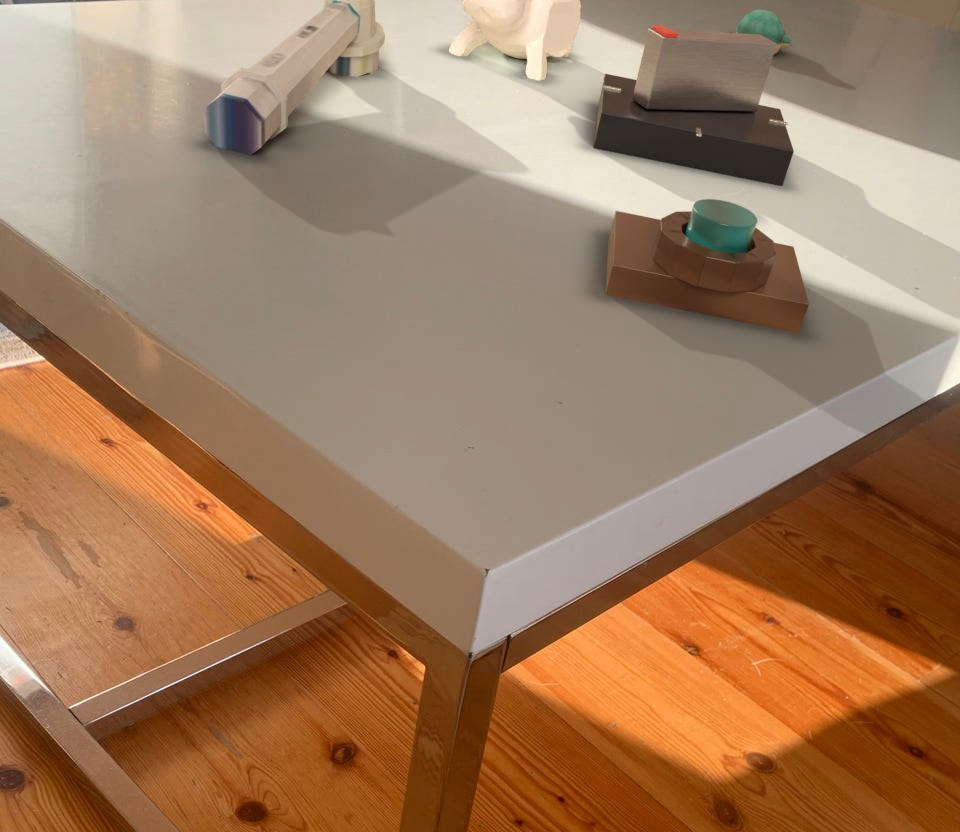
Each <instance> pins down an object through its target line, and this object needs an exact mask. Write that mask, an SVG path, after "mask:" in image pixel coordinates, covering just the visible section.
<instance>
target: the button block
mask: <svg viewBox="0 0 960 832" xmlns="http://www.w3.org/2000/svg"><path fill="white" fill-rule="evenodd" d="M691 211H692V210H689V211H687V210H686V211H684V210H683V211H673V212H672V213H670V214H668V215H666V216H664V217H662V218H661V219H659V218H655V217H649V216H645V215H638V214H634V213H628V212H624V211H619V210H615V212H614V215H613V220H612V222H611V223H612V224H611V227H610V231H609V235H608V244H607V245H608V246H607V259H606V260H607V262H606V281H605V283H606V284H605V296H609V297H615V298H621V299H625V300H631V301H635V302H641V303H646V304H651V305H656V306H660V307H664V308H670V309H675V310H680V311H685V312H691V313H695V314H700V315H705V316H711V317H714V318H719V319H726V320H730V321H736V322H741V323H746V324H750V325H755V326H760V327H765V328H769V329H775V330H779V331H785V332H790V333H795V334H799V332H800V329H801V327H802V325H803V322H804V319H805V316H806V314H807V311H808V309H809V306H810V303H809V299H808V295H807V291H806V288H805V284H804V280H803V276H802V273H801V269H800V264H799V261H798V258H797V254H796V250H795V247H794V246H793V245H788V244H782V243H778V242H775V241H774V240H773V239H771V238H770V237H769V236H768V235H766V234H765V233H764V232H763V231H761V230H760V229H758V228H757V227H755V230H754V233H753V237H752V240H751V243H750V246H749V249H748V251H747V252H746V253H728V252H723V251H718V250H713V249H710V248H707V247H705V246H703V245H700V244H698V243H696V242H693V241H692V240H690V239H689V238H688V237H687V236H686V235H685V232H686V229H687V225H688V222H689V218H690V215H691Z"/></svg>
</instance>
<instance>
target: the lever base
mask: <svg viewBox="0 0 960 832" xmlns="http://www.w3.org/2000/svg"><path fill="white" fill-rule="evenodd" d="M636 81H637V79H634V78H628V77H624V76H620V75H614V74H609V73H605V74H604V77H603V82H602V85H601V90H600V96H599V98H598V105H597V110H596V119H595V128H594V141H593V149H596V150H600V151H605V152H609V153H614V154H618V155H619V154H620V155H625V156H630V157H635V158H639V159H645V160H648V161H649V160H650V161H654V162H659V163H665V164H669V165H670V164H671V165H674V166H679V167H683V168H689V169H695V170H698V171H704V172H708V173H714V174H718V175H724V176H729V177H732V178H738V179H743V180H747V181H752V182H753V181H754V182H758V183H763V184H768V185H772V186H779V187H783V186H784V185H783V184H784V182H785V179H786V176H787V173H788V170H789V168H790V164H791V161H792V159H793V156H794V152H795V151H794V148H793V145H792V144H793V143H792V141H791V137H790V135H789V132H788V128H787V126H788V125H789V123H788V122H787V121H785V119H784V117H783V114H782V111H781V108H777V107H771V106H766V105H762V104H758V107H757V111H756V112H744V111H700V110H655V109H646V108H644V107H643V106H641V105H640V104H639V103H637V102H636V101H634V100H633V99H632V97H633V93H634V89H635V85H636Z"/></svg>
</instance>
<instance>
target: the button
mask: <svg viewBox="0 0 960 832" xmlns="http://www.w3.org/2000/svg"><path fill="white" fill-rule="evenodd" d="M690 211H691V215H690V218H689V222H688V225H687V229H686V232H685V235H686V236H687V237H688V238H689V239H690V240H692V241H693V242H696V243H698V244H700V245H703V246H705V247H707V248H710V249H713V250H718V251H723V252H728V253H746V252H747V251H748V249H749V246H750V243H751V240H752V237H753V233H754V230H755V228H757V224H758V217H757V216H756V215H755V213H753V212H752V211H751V210H750V209H748V208H746V207H744V206H741V205H739V204H736V203H734V202H730V201H727V200H722V199H713V198H707V199H706V198H705V199H699V200H697V201H695V202H694V203H693V205H692V207H691V210H690Z"/></svg>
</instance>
